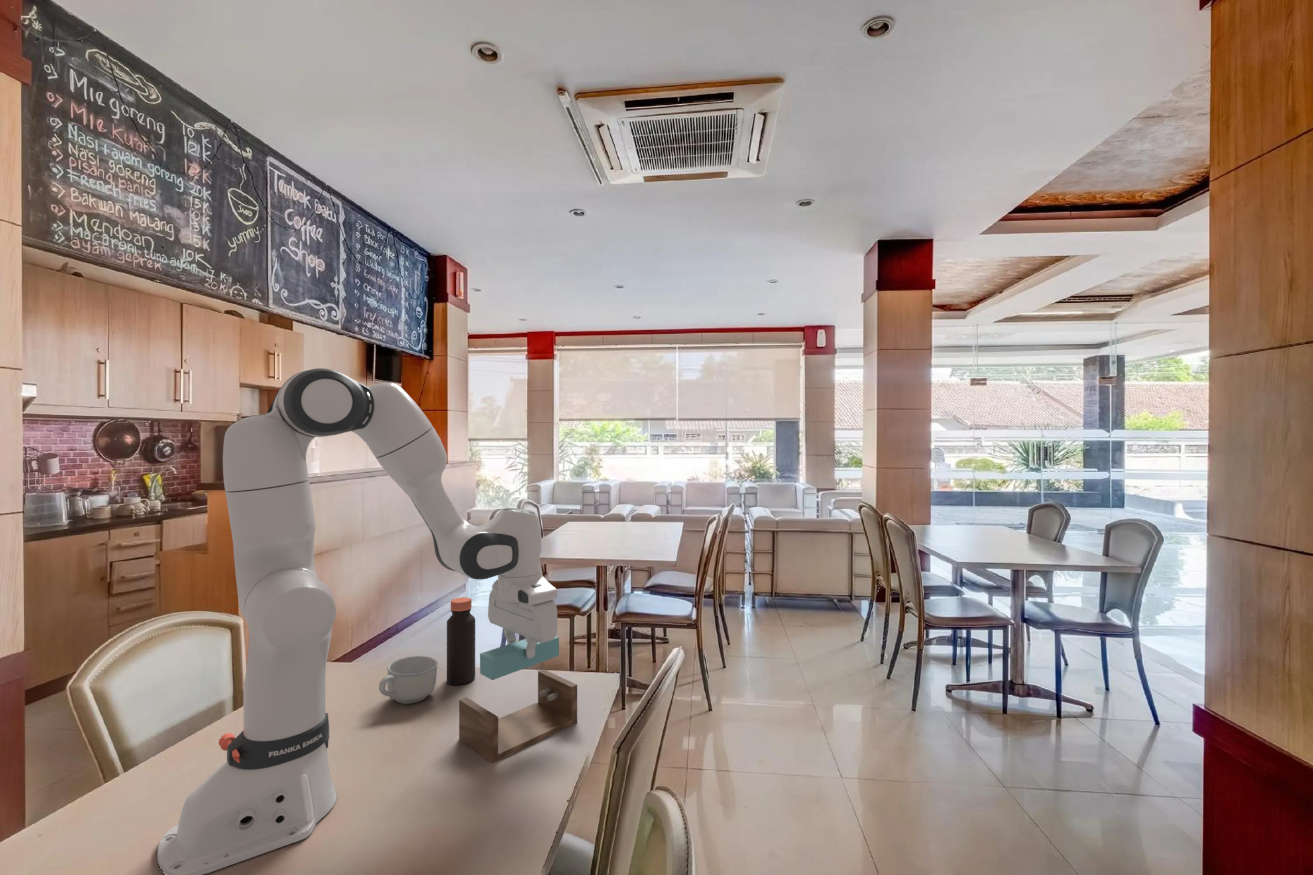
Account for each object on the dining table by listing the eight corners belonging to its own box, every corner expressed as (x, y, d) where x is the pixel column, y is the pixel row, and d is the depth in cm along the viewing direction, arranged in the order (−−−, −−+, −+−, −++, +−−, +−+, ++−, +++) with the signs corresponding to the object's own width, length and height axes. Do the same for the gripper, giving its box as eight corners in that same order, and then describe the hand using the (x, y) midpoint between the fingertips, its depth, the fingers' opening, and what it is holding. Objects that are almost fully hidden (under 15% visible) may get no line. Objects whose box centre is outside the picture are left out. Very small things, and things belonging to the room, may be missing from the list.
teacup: (421, 683, 138) (421, 651, 138) (447, 695, 132) (447, 661, 132) (364, 705, 127) (364, 670, 127) (389, 719, 120) (389, 682, 120)
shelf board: (492, 680, 108) (491, 659, 108) (480, 673, 111) (479, 653, 111) (559, 655, 120) (558, 637, 120) (546, 650, 123) (546, 632, 123)
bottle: (479, 674, 143) (479, 596, 143) (468, 686, 136) (468, 604, 137) (454, 673, 144) (454, 595, 144) (441, 685, 137) (441, 603, 137)
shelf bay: (491, 762, 104) (491, 719, 104) (459, 739, 112) (459, 699, 112) (577, 722, 119) (577, 684, 119) (543, 704, 127) (543, 669, 127)
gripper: (480, 580, 120) (480, 645, 121) (536, 598, 107) (536, 671, 107) (505, 575, 125) (506, 637, 125) (562, 591, 111) (563, 661, 111)
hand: (521, 653), depth 116 cm, fingers closed on shelf board, 4 cm apart
